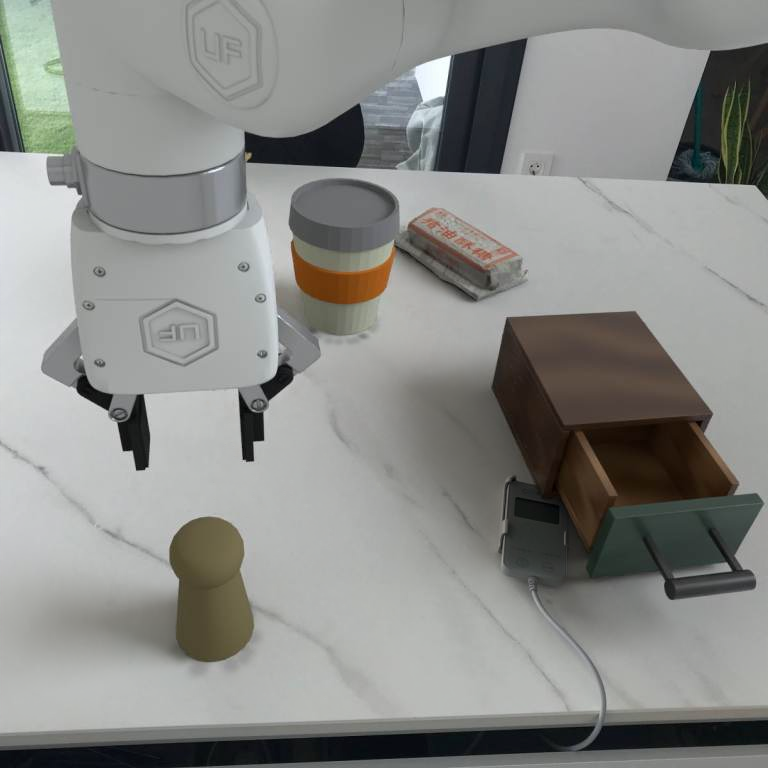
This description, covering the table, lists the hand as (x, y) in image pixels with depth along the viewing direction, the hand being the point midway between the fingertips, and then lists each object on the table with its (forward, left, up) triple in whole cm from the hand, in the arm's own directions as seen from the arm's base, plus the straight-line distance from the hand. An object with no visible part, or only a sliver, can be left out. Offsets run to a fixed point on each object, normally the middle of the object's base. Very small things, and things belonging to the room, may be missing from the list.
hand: (195, 448), depth 48 cm
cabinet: (+18, -38, -20) cm, 46 cm away
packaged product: (+53, -34, -20) cm, 66 cm away
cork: (0, 0, -20) cm, 20 cm away
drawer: (+5, -38, -19) cm, 43 cm away
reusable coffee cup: (+42, -16, -20) cm, 49 cm away
